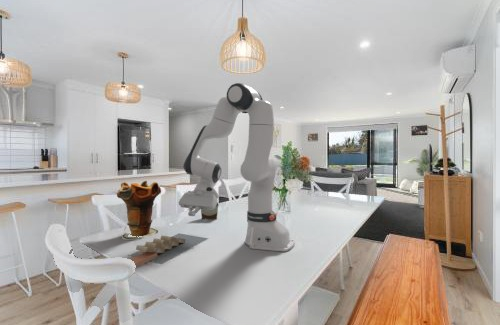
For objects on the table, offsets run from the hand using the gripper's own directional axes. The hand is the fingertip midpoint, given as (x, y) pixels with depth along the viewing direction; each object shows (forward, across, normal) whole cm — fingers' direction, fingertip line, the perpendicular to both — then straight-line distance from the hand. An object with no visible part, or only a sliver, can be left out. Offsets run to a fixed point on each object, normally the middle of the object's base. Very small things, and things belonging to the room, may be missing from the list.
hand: (191, 215), depth 116 cm
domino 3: (+18, -1, -4) cm, 18 cm away
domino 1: (+20, -1, -7) cm, 21 cm away
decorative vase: (+11, -29, +4) cm, 31 cm away
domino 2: (+23, -1, -9) cm, 25 cm away
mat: (+17, -1, -1) cm, 17 cm away
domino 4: (+15, -1, -1) cm, 15 cm away
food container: (-17, -13, +33) cm, 39 cm away
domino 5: (+12, -1, +2) cm, 12 cm away
